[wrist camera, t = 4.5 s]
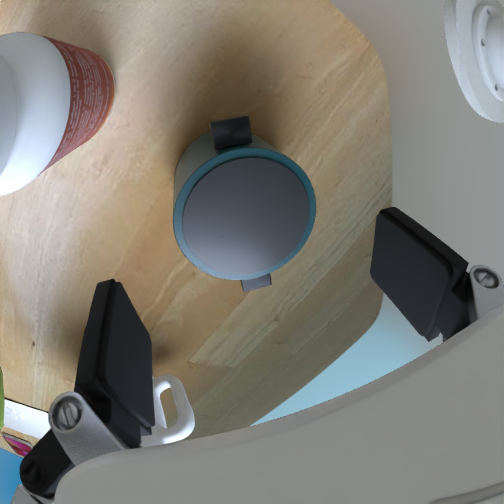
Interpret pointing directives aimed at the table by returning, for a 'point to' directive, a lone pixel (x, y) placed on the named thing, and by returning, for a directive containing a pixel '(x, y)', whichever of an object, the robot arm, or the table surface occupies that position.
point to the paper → (25, 419)
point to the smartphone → (18, 444)
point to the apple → (1, 401)
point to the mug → (160, 429)
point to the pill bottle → (47, 103)
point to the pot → (240, 204)
